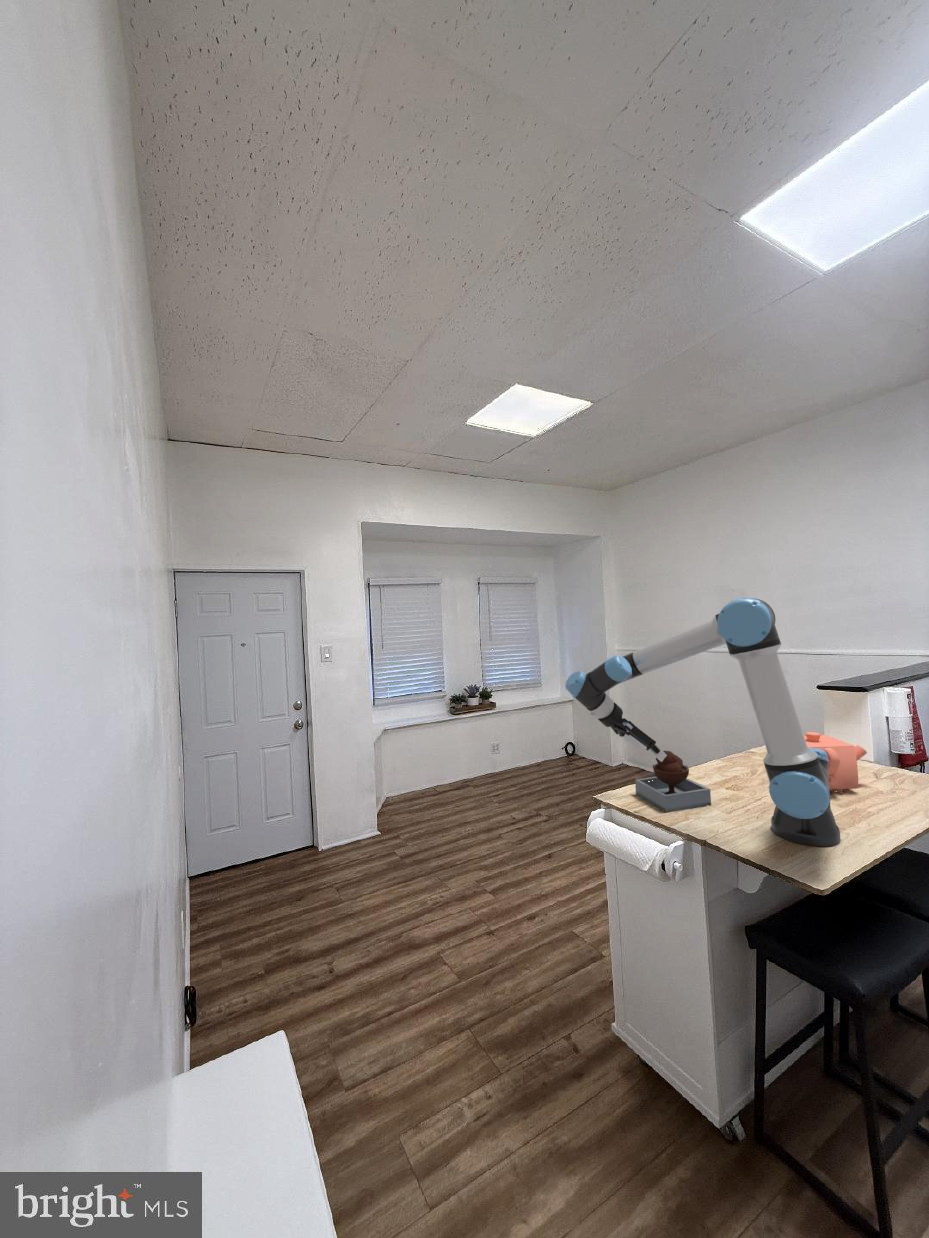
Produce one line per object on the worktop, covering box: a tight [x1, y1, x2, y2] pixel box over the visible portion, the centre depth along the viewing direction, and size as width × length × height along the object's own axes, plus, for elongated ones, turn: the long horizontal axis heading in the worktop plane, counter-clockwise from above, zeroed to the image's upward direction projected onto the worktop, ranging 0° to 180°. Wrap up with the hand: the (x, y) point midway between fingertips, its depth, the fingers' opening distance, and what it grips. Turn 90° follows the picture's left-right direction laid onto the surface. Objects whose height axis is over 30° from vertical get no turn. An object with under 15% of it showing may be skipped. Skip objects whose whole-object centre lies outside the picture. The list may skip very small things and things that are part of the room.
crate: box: [634, 776, 712, 814], centre depth 157 cm, size 16×16×5 cm
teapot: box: [803, 731, 868, 793], centre depth 161 cm, size 25×23×18 cm
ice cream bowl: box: [652, 750, 690, 795], centre depth 156 cm, size 11×11×15 cm
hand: (650, 752), depth 156 cm, fingers open, 13 cm apart
